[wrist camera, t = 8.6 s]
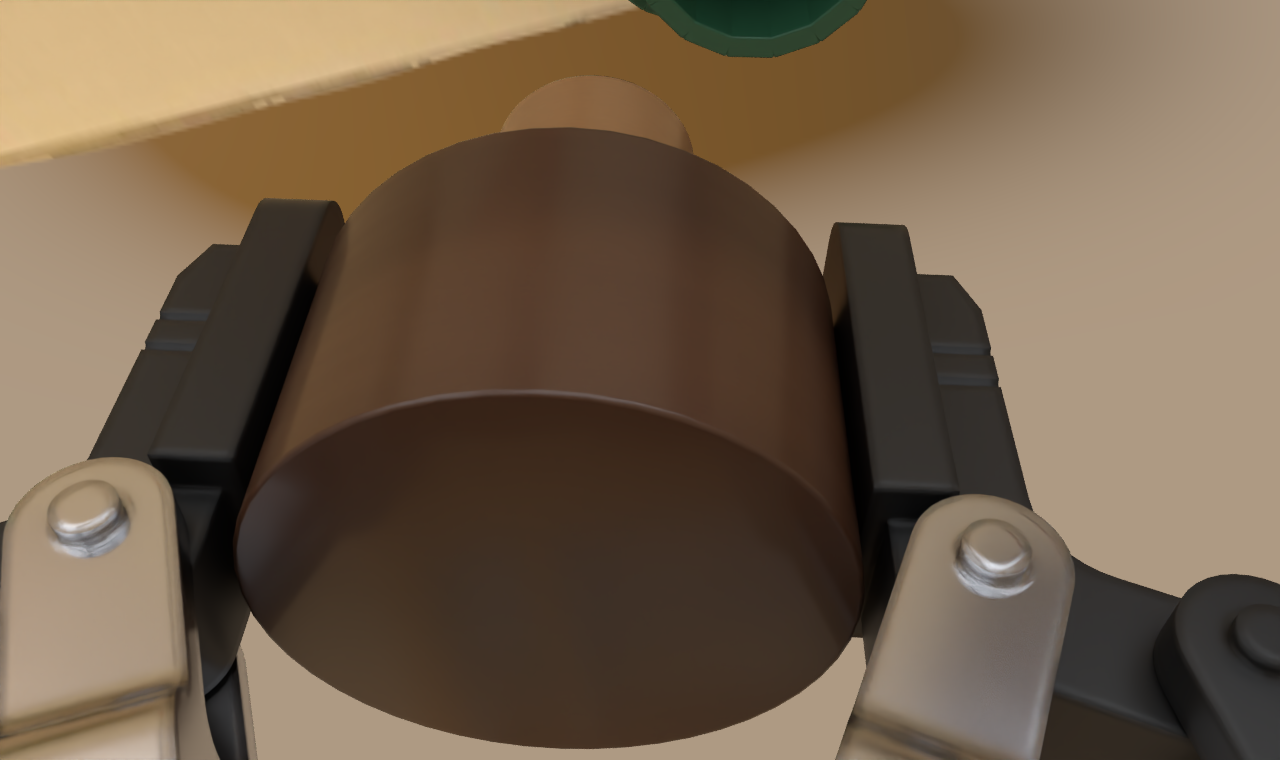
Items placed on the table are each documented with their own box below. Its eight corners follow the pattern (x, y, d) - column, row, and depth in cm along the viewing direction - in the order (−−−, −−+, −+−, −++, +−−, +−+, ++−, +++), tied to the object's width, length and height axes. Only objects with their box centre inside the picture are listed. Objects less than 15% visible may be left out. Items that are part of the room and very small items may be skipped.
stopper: (350, -54, 12) (150, 378, 8) (839, -37, 12) (924, 408, 8) (410, 308, 16) (300, 739, 11) (784, 322, 16) (819, 761, 11)
